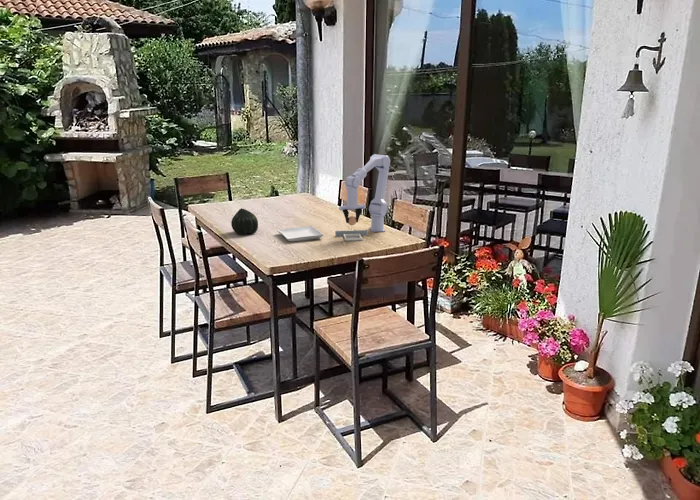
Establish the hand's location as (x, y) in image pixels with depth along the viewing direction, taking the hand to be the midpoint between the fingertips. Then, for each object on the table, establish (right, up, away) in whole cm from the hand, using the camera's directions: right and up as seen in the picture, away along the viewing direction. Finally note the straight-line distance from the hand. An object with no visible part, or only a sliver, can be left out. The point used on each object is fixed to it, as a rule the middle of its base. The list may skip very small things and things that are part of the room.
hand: (352, 222), depth 299 cm
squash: (-61, -6, +10) cm, 62 cm away
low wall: (0, -7, +6) cm, 9 cm away
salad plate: (-29, -9, +3) cm, 31 cm away
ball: (0, +1, 0) cm, 1 cm away
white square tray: (0, -9, 0) cm, 9 cm away
